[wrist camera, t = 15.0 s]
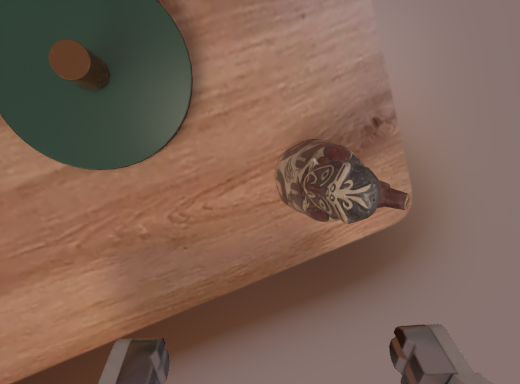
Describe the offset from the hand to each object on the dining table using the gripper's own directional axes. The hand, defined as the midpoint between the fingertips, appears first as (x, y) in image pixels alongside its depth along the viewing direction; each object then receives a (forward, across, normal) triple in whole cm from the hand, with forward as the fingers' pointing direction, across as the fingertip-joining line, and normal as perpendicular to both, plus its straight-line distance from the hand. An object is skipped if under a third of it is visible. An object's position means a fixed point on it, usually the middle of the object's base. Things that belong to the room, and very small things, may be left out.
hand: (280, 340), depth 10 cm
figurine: (+20, -5, +4) cm, 21 cm away
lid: (+20, +13, -6) cm, 25 cm away
